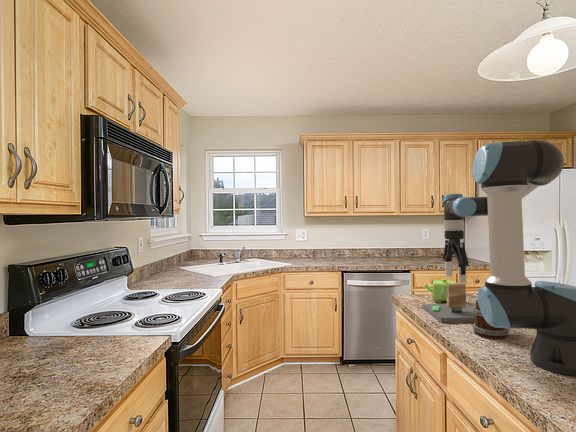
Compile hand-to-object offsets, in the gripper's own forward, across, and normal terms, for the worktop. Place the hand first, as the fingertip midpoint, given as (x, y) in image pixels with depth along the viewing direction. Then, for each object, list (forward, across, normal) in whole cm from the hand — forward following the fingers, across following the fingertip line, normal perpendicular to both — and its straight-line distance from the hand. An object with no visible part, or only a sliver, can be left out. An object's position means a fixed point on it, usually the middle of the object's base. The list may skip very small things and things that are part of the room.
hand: (455, 279), depth 149 cm
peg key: (+14, +3, 0) cm, 14 cm away
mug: (+16, -22, -4) cm, 28 cm away
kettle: (+16, +24, -5) cm, 30 cm away
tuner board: (+16, +2, 0) cm, 16 cm away
